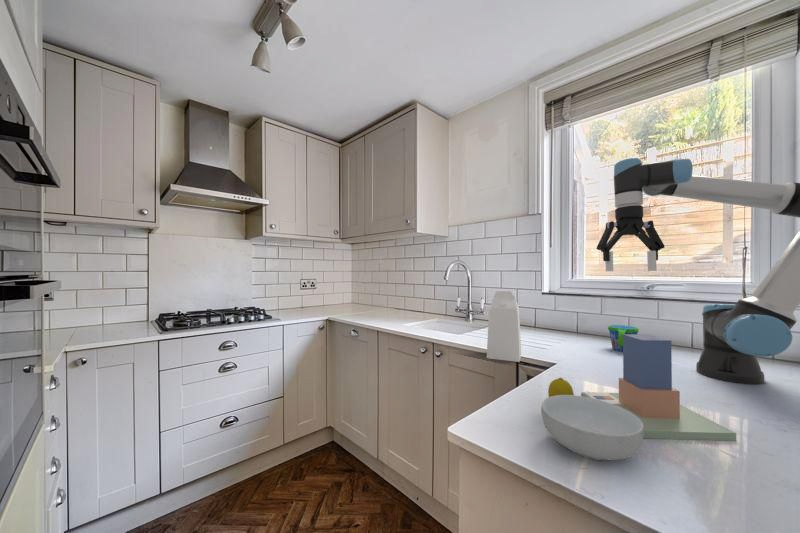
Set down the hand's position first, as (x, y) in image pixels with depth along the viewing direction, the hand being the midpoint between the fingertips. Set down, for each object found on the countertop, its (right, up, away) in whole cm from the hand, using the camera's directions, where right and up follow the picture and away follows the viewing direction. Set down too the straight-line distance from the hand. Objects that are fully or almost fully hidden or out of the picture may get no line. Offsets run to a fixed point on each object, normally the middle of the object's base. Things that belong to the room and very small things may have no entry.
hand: (630, 271), depth 102 cm
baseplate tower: (-18, -34, -29) cm, 48 cm away
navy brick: (-18, -26, -29) cm, 43 cm away
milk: (-34, -35, +21) cm, 53 cm away
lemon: (-37, -34, -27) cm, 57 cm away
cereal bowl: (-40, -34, -42) cm, 67 cm away
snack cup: (+19, -35, +30) cm, 49 cm away
